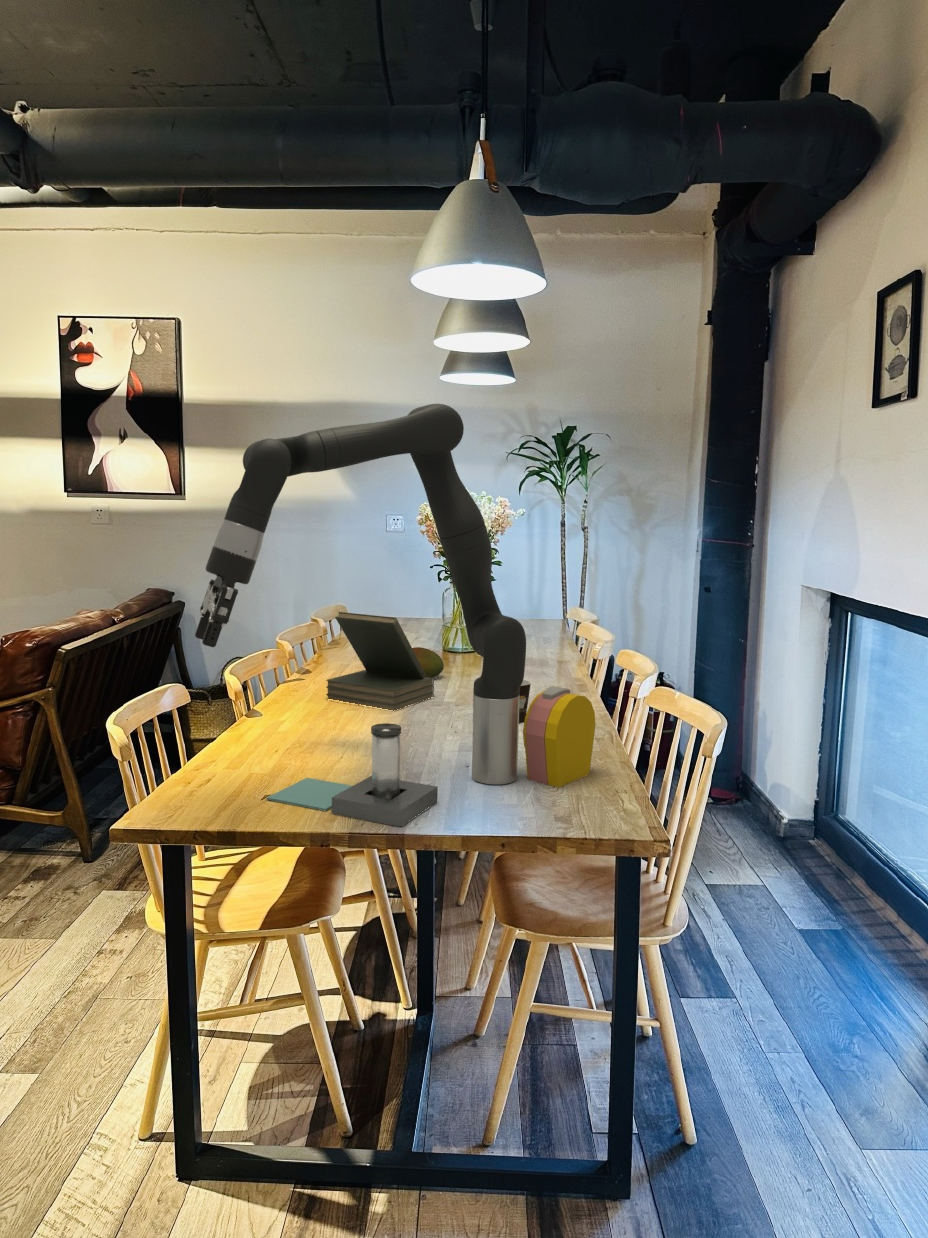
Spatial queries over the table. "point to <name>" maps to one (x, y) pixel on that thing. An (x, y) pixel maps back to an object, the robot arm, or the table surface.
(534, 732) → the yellow and pink lunchbox
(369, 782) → the collar block
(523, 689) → the coffee mug
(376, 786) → the tumbler with black lid
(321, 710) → the table surface
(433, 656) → the fruit
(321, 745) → the table surface
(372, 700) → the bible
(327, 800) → the rubber mat
